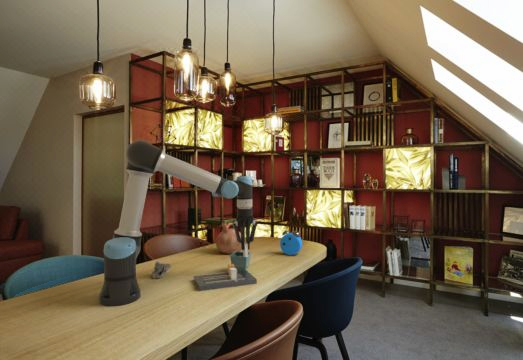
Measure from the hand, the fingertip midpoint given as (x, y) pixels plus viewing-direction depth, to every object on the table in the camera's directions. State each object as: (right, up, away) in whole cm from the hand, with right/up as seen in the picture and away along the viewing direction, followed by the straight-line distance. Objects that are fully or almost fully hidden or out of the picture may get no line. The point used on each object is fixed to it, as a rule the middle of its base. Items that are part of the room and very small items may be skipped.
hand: (245, 256), depth 155 cm
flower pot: (-3, -10, +10) cm, 14 cm away
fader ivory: (-5, -8, -9) cm, 13 cm away
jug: (-13, -10, +51) cm, 53 cm away
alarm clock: (+26, -10, +45) cm, 53 cm away
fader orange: (-7, -8, -3) cm, 11 cm away
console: (-9, -10, -7) cm, 16 cm away
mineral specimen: (-42, -10, +3) cm, 43 cm away
